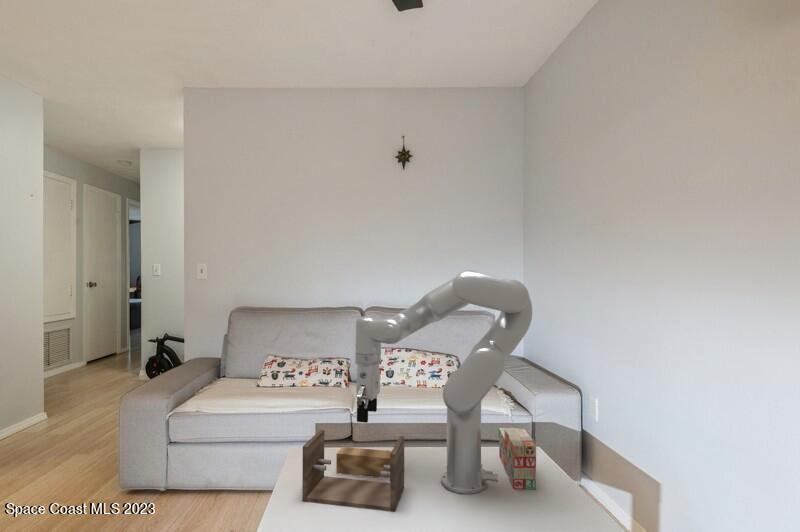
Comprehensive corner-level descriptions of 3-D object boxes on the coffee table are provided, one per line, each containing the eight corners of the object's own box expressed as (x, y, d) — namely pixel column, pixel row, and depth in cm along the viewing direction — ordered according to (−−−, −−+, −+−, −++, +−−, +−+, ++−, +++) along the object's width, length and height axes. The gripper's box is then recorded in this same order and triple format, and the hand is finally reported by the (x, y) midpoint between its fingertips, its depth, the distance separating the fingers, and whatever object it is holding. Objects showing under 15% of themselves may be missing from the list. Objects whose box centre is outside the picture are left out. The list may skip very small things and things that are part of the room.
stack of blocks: (498, 456, 138) (498, 418, 139) (518, 457, 138) (518, 418, 138) (513, 490, 117) (513, 444, 117) (536, 490, 117) (536, 444, 117)
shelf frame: (404, 487, 118) (404, 436, 118) (394, 511, 106) (394, 454, 106) (320, 479, 123) (320, 429, 123) (302, 501, 111) (302, 446, 111)
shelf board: (399, 472, 128) (399, 451, 128) (396, 480, 123) (396, 459, 123) (342, 466, 131) (342, 446, 132) (336, 473, 127) (336, 453, 127)
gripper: (372, 365, 119) (371, 427, 118) (387, 353, 135) (386, 408, 135) (346, 363, 120) (345, 425, 120) (364, 352, 137) (363, 406, 137)
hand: (367, 416), depth 128 cm, fingers open, 9 cm apart
